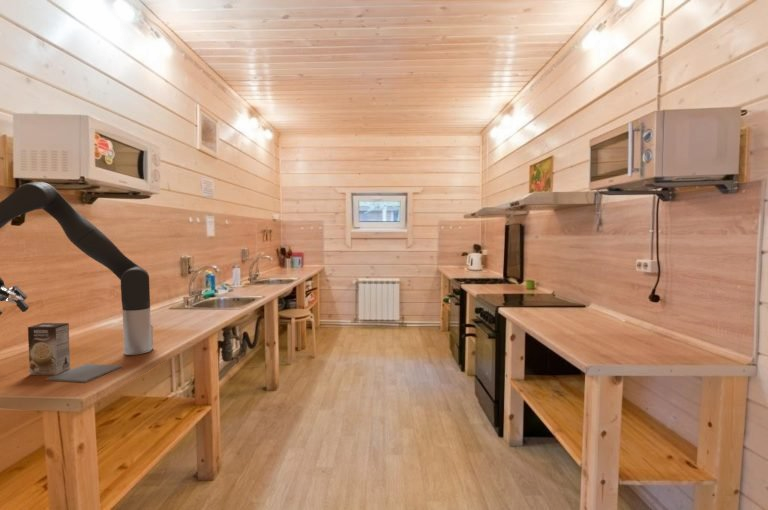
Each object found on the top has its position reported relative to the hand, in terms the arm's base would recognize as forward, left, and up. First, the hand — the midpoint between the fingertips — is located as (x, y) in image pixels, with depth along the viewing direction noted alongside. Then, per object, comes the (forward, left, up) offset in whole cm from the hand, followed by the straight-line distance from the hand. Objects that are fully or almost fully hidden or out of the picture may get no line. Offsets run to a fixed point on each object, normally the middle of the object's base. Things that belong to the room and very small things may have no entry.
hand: (13, 312), depth 132 cm
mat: (-1, +26, -20) cm, 33 cm away
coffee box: (-1, +13, -20) cm, 24 cm away
